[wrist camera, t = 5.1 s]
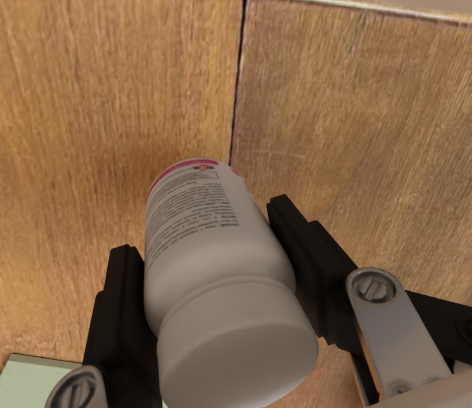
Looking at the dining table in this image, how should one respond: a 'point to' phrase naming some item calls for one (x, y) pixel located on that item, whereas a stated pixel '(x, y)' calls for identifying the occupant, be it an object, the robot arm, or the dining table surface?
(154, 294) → the pill bottle
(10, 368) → the mat
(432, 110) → the dining table surface
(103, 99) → the dining table surface
